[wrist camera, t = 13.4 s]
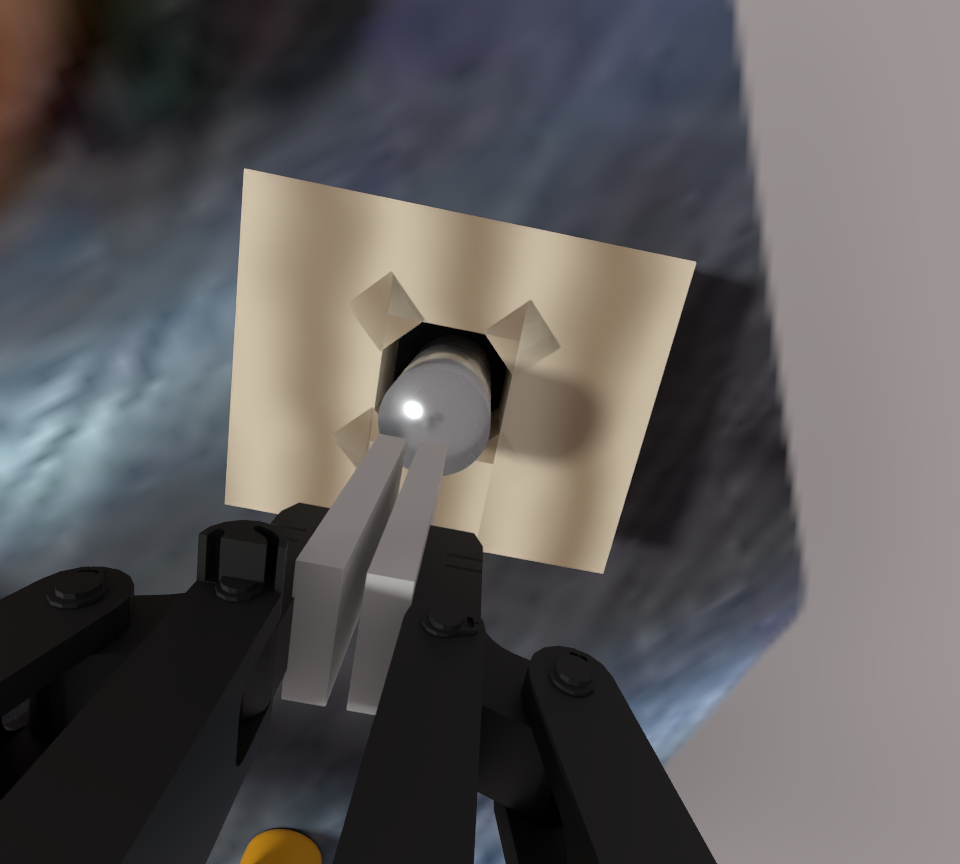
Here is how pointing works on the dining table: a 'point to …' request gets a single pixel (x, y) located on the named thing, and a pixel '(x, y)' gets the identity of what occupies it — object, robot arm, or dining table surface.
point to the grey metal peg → (442, 402)
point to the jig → (457, 304)
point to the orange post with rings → (281, 849)
